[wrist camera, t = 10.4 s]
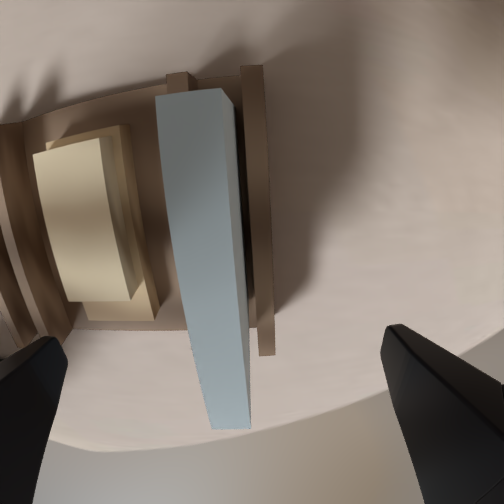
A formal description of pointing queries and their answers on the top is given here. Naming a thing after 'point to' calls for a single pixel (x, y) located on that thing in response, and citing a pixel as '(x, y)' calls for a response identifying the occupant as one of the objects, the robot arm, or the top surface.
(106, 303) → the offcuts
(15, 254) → the rack
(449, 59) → the top surface
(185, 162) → the panel
